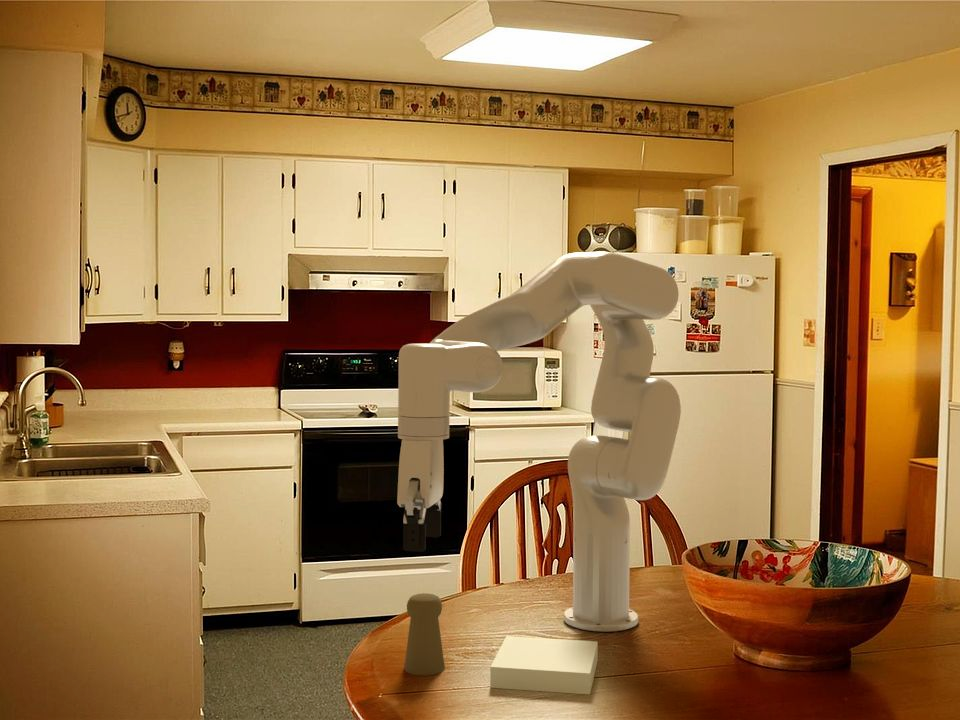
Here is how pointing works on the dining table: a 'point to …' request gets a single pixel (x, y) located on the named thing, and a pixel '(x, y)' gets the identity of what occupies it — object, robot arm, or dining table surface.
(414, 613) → the cork
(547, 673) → the cream block
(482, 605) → the dining table surface
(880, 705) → the dining table surface
